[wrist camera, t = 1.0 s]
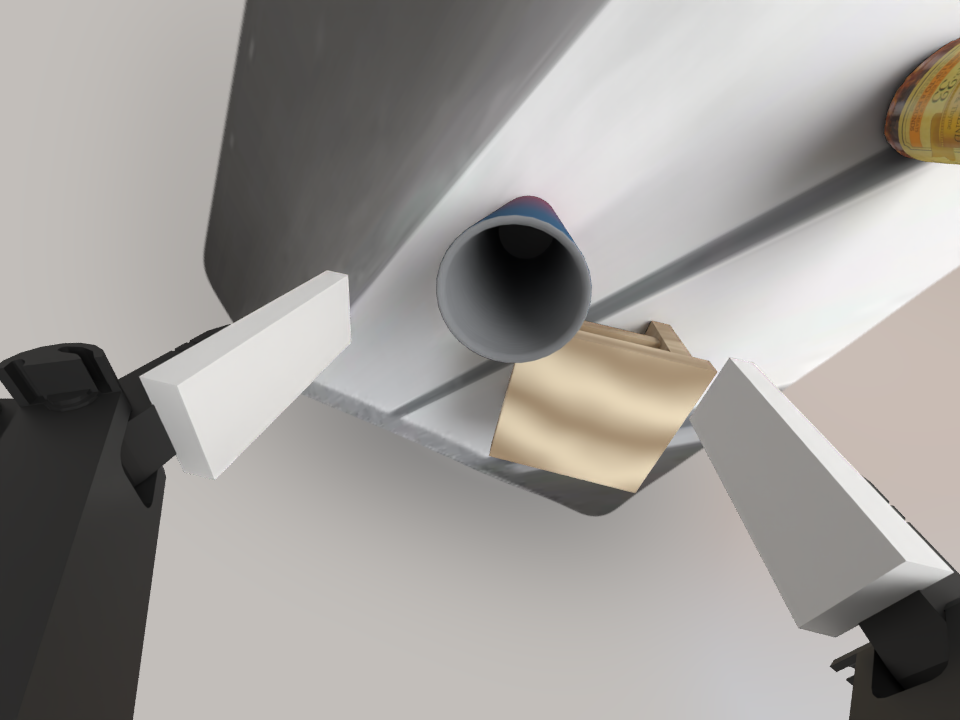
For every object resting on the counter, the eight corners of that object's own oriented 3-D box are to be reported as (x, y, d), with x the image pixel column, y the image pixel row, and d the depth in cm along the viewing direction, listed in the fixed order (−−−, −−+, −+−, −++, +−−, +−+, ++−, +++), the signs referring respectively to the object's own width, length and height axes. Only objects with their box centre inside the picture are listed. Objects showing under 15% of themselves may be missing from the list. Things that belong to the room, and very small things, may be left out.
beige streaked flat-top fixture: (530, 286, 30) (526, 326, 23) (678, 321, 30) (717, 371, 23) (499, 400, 37) (489, 455, 30) (618, 429, 37) (635, 492, 30)
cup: (484, 269, 30) (440, 357, 17) (484, 181, 27) (430, 212, 14) (564, 273, 29) (579, 369, 17) (576, 183, 26) (606, 217, 13)
